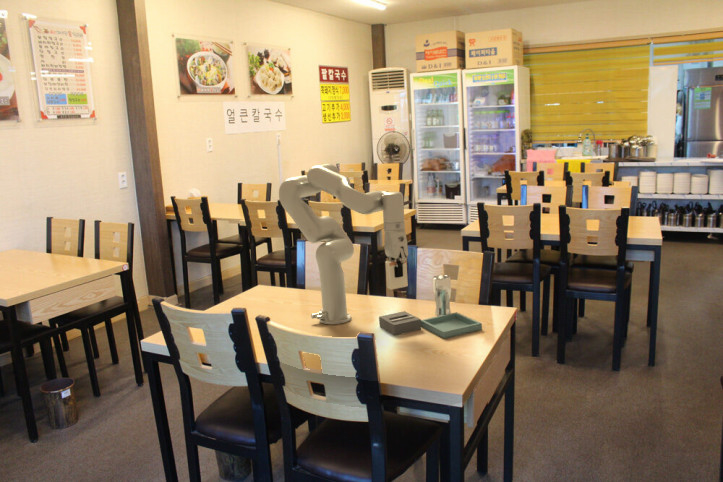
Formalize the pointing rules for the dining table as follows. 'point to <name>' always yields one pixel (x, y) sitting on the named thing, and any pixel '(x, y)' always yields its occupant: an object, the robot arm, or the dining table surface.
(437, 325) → the tray
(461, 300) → the dining table surface
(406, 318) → the block
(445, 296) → the beer glass
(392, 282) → the cream rectangular block
